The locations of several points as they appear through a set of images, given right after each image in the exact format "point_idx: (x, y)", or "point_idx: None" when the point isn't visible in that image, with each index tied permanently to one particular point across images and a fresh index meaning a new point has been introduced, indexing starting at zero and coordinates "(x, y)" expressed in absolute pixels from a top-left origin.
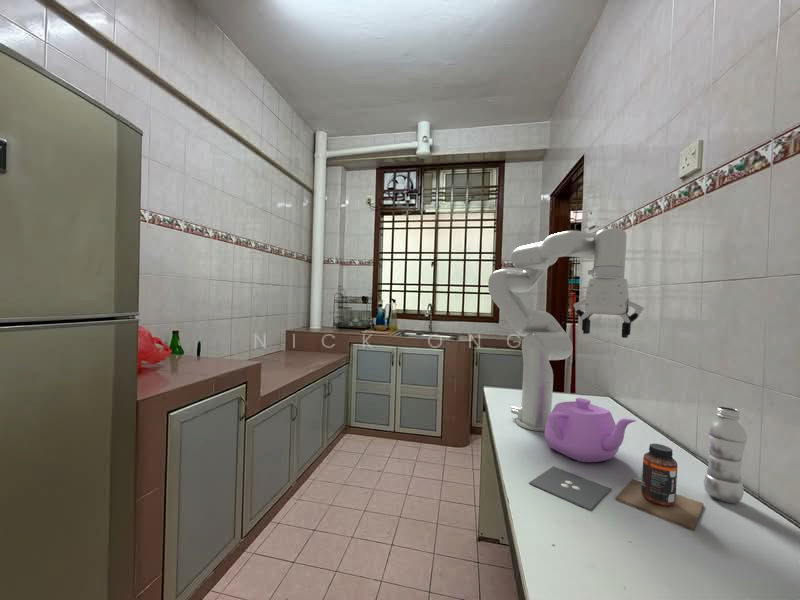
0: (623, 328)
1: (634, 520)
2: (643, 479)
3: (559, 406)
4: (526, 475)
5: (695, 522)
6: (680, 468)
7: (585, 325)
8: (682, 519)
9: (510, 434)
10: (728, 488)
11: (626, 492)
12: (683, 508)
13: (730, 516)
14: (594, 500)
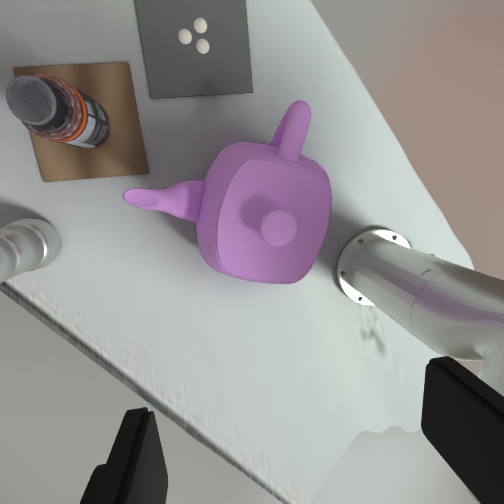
0: (111, 488)
1: (78, 13)
2: (91, 99)
3: (314, 173)
4: (263, 5)
5: None
6: (127, 307)
7: (498, 410)
8: None
9: (380, 170)
10: (8, 223)
11: (127, 101)
12: None
13: (10, 182)
14: (143, 16)
